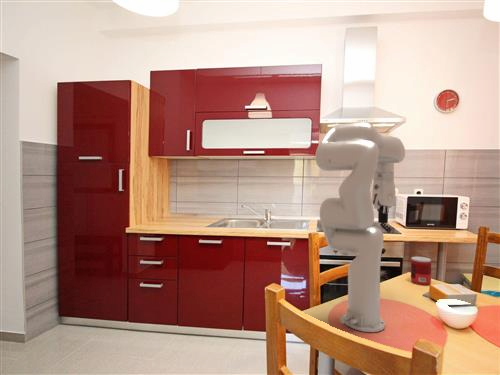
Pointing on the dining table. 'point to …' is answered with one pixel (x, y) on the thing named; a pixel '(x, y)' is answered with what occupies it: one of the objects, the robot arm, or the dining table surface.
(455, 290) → the supplement box
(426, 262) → the canned food
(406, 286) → the dining table surface
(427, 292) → the grey rubber mat
